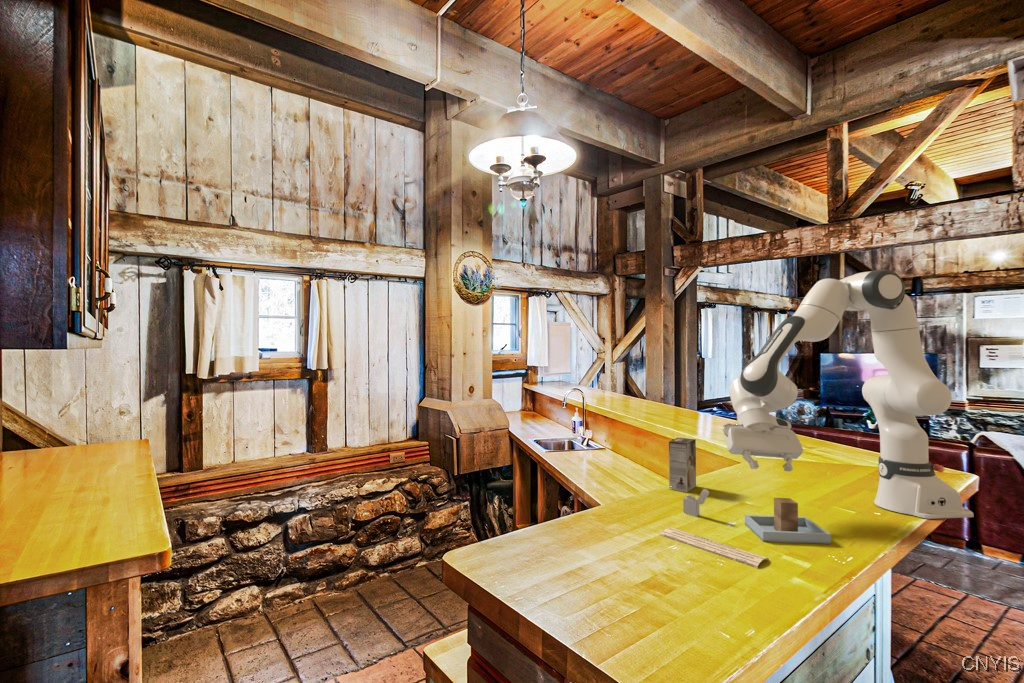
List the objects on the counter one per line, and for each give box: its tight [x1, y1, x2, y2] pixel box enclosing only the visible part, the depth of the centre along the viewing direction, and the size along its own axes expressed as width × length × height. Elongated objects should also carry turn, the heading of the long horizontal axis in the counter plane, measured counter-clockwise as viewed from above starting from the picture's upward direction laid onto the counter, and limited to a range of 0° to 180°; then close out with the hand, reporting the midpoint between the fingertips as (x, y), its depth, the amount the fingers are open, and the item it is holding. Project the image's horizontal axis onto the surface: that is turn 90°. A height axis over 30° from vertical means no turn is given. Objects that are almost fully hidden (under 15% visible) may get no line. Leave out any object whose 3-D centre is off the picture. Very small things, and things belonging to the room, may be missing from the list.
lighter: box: [682, 488, 710, 518], centre depth 134 cm, size 7×2×8 cm, turn 41°
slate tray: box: [744, 514, 832, 545], centre depth 122 cm, size 16×12×2 cm
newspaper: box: [659, 527, 770, 569], centre depth 114 cm, size 24×7×2 cm, turn 41°
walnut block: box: [773, 497, 799, 532], centre depth 122 cm, size 4×4×8 cm
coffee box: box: [668, 437, 697, 493], centre depth 161 cm, size 9×6×16 cm
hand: (772, 469), depth 130 cm, fingers open, 8 cm apart
